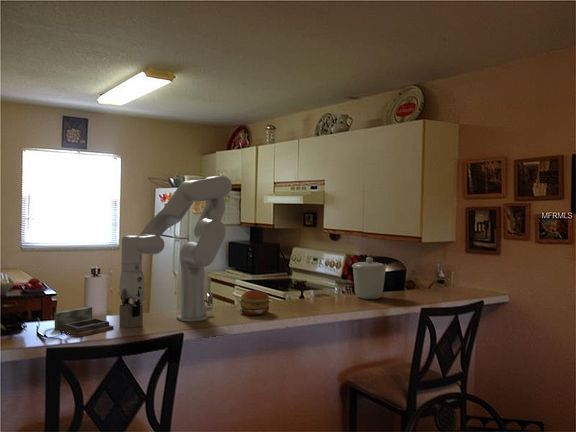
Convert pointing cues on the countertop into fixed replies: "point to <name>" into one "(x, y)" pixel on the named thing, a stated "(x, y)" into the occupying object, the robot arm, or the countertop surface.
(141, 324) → the padlock
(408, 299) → the countertop surface
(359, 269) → the canister
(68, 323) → the open hinged box
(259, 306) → the burger
